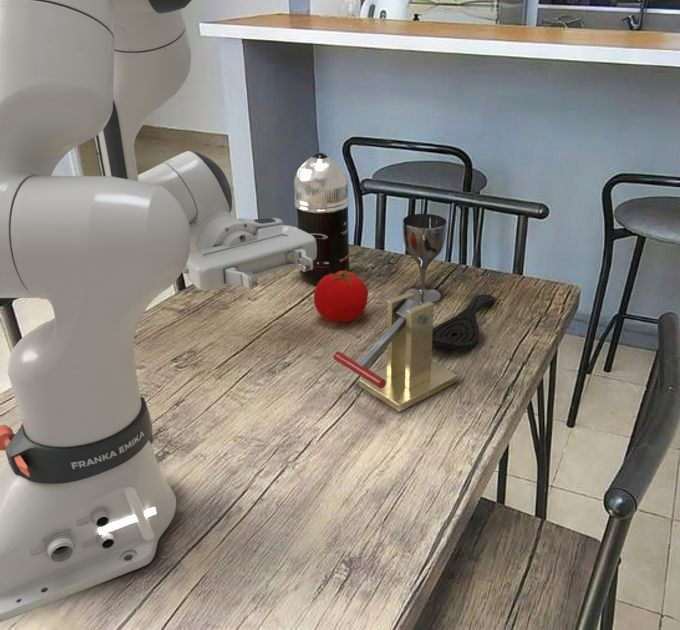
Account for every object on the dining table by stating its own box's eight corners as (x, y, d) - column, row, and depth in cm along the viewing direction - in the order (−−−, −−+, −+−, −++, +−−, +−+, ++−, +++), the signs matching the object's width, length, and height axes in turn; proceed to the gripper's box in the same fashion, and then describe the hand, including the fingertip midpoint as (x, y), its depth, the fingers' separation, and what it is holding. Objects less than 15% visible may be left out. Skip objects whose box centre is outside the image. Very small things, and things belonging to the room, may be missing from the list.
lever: (382, 392, 91) (375, 382, 90) (337, 363, 98) (329, 353, 96) (443, 323, 95) (438, 313, 94) (396, 300, 102) (390, 289, 100)
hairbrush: (511, 289, 127) (461, 342, 106) (509, 307, 129) (460, 363, 108) (470, 281, 130) (413, 330, 109) (468, 298, 132) (412, 350, 111)
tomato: (311, 329, 117) (308, 284, 113) (320, 302, 126) (318, 261, 122) (365, 331, 117) (364, 286, 113) (370, 304, 126) (370, 262, 122)
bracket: (399, 412, 96) (400, 326, 90) (358, 386, 102) (357, 303, 96) (457, 381, 104) (462, 300, 97) (417, 358, 109) (419, 280, 103)
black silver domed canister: (354, 268, 141) (352, 147, 130) (344, 289, 132) (341, 161, 120) (305, 265, 142) (299, 144, 130) (292, 285, 133) (284, 158, 121)
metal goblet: (395, 290, 132) (396, 216, 125) (431, 284, 135) (434, 211, 128) (411, 307, 126) (413, 230, 119) (450, 300, 129) (454, 225, 122)
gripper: (167, 243, 99) (213, 272, 90) (285, 215, 112) (337, 238, 103) (172, 283, 102) (218, 314, 93) (288, 251, 115) (338, 276, 106)
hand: (282, 274), depth 98 cm, fingers open, 8 cm apart
